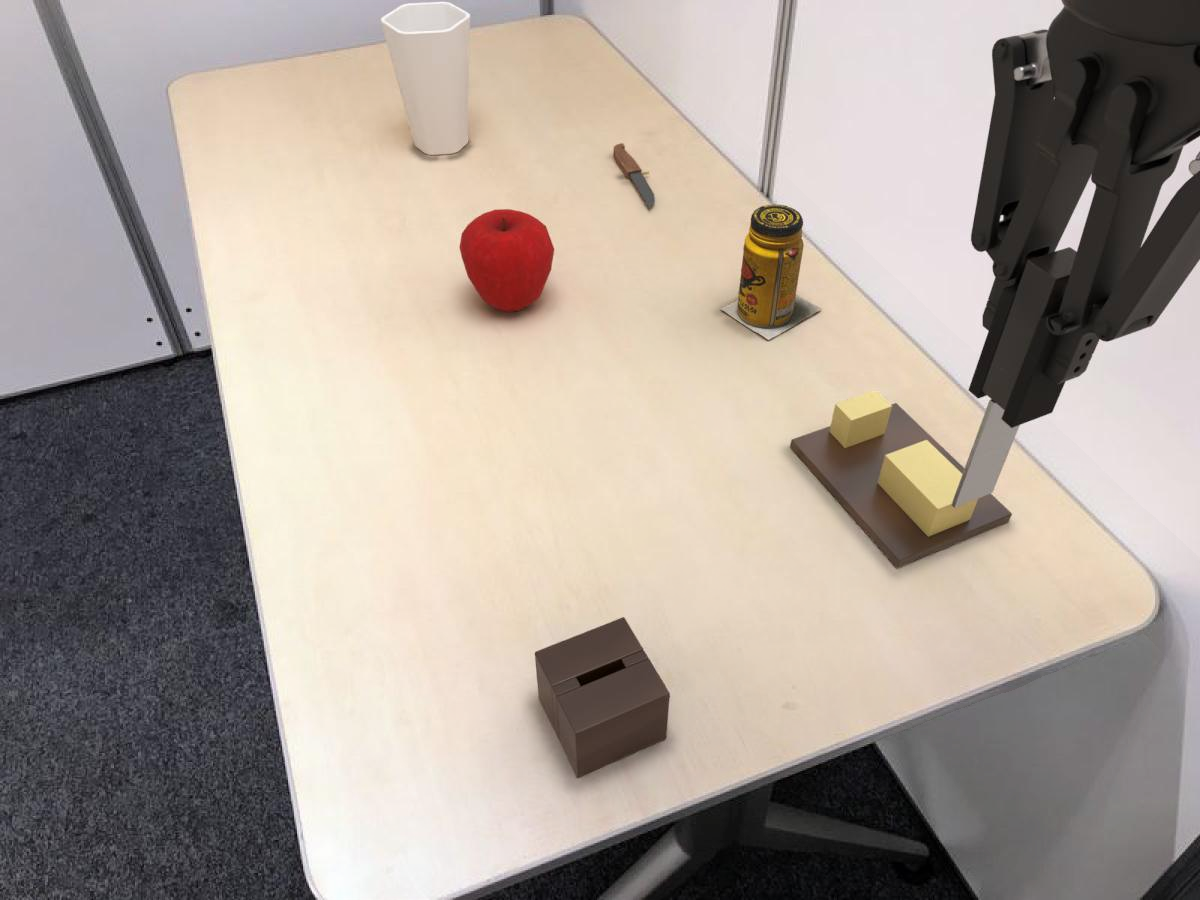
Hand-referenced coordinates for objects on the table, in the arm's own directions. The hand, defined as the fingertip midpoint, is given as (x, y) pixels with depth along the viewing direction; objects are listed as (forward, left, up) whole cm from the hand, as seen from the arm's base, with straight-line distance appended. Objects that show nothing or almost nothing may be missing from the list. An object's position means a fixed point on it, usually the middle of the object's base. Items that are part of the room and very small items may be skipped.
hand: (1009, 400), depth 51 cm
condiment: (+45, -18, -30) cm, 57 cm away
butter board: (+18, -14, -29) cm, 37 cm away
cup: (+98, +2, -30) cm, 102 cm away
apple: (+59, +7, -30) cm, 66 cm away
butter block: (+15, -14, -28) cm, 35 cm away
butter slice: (+24, -14, -28) cm, 40 cm away
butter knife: (0, 0, -8) cm, 8 cm away
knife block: (+8, +20, -29) cm, 36 cm away
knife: (+77, -18, -29) cm, 84 cm away
